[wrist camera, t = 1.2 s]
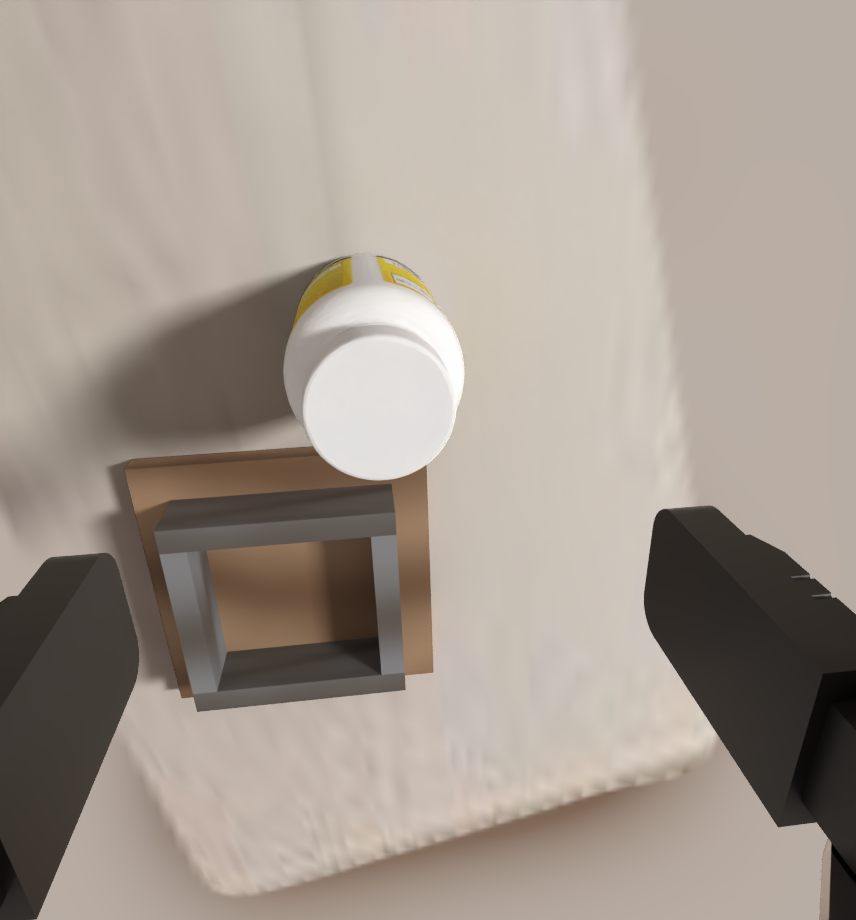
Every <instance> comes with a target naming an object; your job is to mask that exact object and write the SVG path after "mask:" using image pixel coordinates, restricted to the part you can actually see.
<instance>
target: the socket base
mask: <svg viewBox="0 0 856 920" xmlns="http://www.w3.org/2000/svg"><path fill="white" fill-rule="evenodd" d="M124 471H125V475H126V479H127V483H128V487H129V491H130V495H131V499H132V503H133V507H134V511H135V515H136V519H137V523H138V527H139V531H140V535H141V539H142V543H143V547H144V551H145V555H146V559H147V563H148V567H149V571H150V575H151V579H152V582H153V586H154V590H155V594H156V598H157V602H158V606H159V610H160V614H161V618H162V622H163V626H164V630H165V634H166V638H167V642H168V646H169V650H170V654H171V658H172V662H173V666H174V670H175V674H176V678H177V682H178V686H179V690H180V694H181V698H189V697H194V701H195V705H196V709H197V712H200V711H209V710H219V709H228V708H238V707H248V706H257V705H267V704H276V703H286V702H295V701H305V700H314V699H324V698H333V697H343V696H352V695H362V694H371V693H381V692H391V691H400V690H405V675H413V674H422V673H432V672H433V649H432V619H431V589H430V559H429V529H428V499H427V469H426V465H425V466H424V467H422V468H421V469H419V470H417V471H415V472H413V473H411V474H409V475H406V476H404V477H400V478H396V479H390V480H366V479H361V478H357V477H353V476H350V475H348V474H346V473H343V472H341V471H339V470H337V469H336V468H334V467H333V466H331V465H330V464H329V463H327V462H326V461H325V460H324V459H323V458H322V457H321V456H320V455H319V454H318V452H317V451H316V450H315V448H314V447H300V448H286V449H272V450H257V451H243V452H229V453H215V454H201V455H186V456H172V457H158V458H144V459H132V460H131V461H130V462H129V464H128V465H127V467H126V468H125V469H124Z"/></svg>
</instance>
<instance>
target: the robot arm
mask: <svg viewBox="0 0 856 920" xmlns="http://www.w3.org/2000/svg"><path fill="white" fill-rule="evenodd" d="M644 608H645V614H646V619H647V622H648V625H649V628H650V630H651V632H652V634H653V636H654V638H655V639H656V641H657V642H658V644H659V645H660V647H661V648H662V650H663V652H664V653H665V655H666V656H667V658H668V659H669V661H670V662H671V664H672V665H673V667H674V668H675V670H676V671H677V673H678V674H679V676H680V678H681V679H682V681H683V682H684V684H685V685H686V687H687V688H688V690H689V691H690V693H691V694H692V696H693V697H694V699H695V701H696V702H697V704H698V705H699V707H700V708H701V710H702V711H703V713H704V714H705V716H706V717H707V719H708V720H709V722H710V724H711V725H712V727H713V728H714V730H715V731H716V733H717V734H718V736H719V737H720V739H721V740H722V742H723V743H724V745H725V747H726V748H727V750H728V751H729V753H730V754H731V756H732V757H733V759H734V760H735V762H736V763H737V765H738V766H739V768H740V769H741V771H742V773H743V774H744V776H745V777H746V779H747V780H748V782H749V783H750V785H751V786H752V788H753V789H754V791H755V792H756V794H757V795H758V797H759V799H760V800H761V802H762V803H763V804H764V806H765V808H766V809H767V811H768V812H769V814H770V815H771V817H772V818H773V820H774V822H775V823H776V824H777V826H778V827H784V826H791V825H799V824H807V823H815V822H817V823H818V825H819V826H820V827H821V828H822V830H823V831H824V833H825V834H826V835H827V837H828V839H827V842H826V845H825V848H824V851H823V856H822V871H821V894H820V915H819V920H856V614H855V613H853V612H852V611H851V610H850V609H849V608H848V607H847V606H845V605H844V604H843V603H842V602H841V601H840V600H839V599H837V598H832V597H831V592H829V591H828V590H827V589H826V588H825V587H824V586H823V585H821V584H820V583H819V582H818V581H817V580H816V579H810V574H809V573H808V572H807V571H806V570H804V569H803V568H802V567H801V566H800V565H799V564H797V563H796V562H795V561H794V560H793V559H792V558H791V557H789V556H788V555H787V554H786V553H785V552H783V551H781V550H779V549H777V548H776V547H773V546H771V545H770V544H768V543H766V542H764V541H762V540H760V539H758V538H756V537H754V536H752V535H745V534H744V533H743V532H742V531H741V530H740V529H738V528H737V527H736V526H735V525H734V524H733V523H732V522H731V521H730V520H729V519H728V518H726V517H725V516H724V515H723V514H722V513H721V512H720V511H719V510H718V509H716V508H715V507H713V506H699V507H698V506H697V507H685V508H673V509H663V510H661V511H659V512H658V514H657V515H656V517H655V520H654V525H653V531H652V539H651V546H650V554H649V561H648V568H647V576H646V583H645V591H644ZM138 666H139V647H138V641H137V636H136V633H135V629H134V625H133V622H132V618H131V614H130V610H129V607H128V603H127V599H126V596H125V592H124V588H123V585H122V581H121V577H120V573H119V570H118V567H117V564H116V562H115V560H114V558H113V557H112V556H111V555H110V554H108V553H99V554H86V555H74V556H62V557H52V558H49V559H47V560H46V561H45V562H44V563H43V564H42V565H41V567H40V568H39V569H38V571H37V572H36V573H35V574H34V576H33V577H32V578H31V580H30V581H29V582H28V584H27V585H26V586H25V587H24V589H23V590H22V591H21V593H20V594H19V595H18V596H11V597H7V598H6V599H4V600H3V601H1V602H0V920H34V919H37V917H38V915H39V912H40V910H41V908H42V905H43V903H44V900H45V898H46V895H47V893H48V891H49V889H50V886H51V884H52V881H53V879H54V877H55V874H56V872H57V869H58V867H59V865H60V862H61V859H62V857H63V855H64V853H65V850H66V848H67V845H68V843H69V841H70V838H71V836H72V833H73V831H74V829H75V826H76V824H77V822H78V819H79V817H80V814H81V812H82V809H83V807H84V805H85V802H86V800H87V798H88V795H89V793H90V790H91V788H92V785H93V783H94V781H95V778H96V776H97V774H98V771H99V769H100V766H101V764H102V762H103V759H104V757H105V755H106V752H107V750H108V747H109V745H110V742H111V740H112V738H113V735H114V733H115V731H116V728H117V726H118V723H119V721H120V719H121V716H122V714H123V711H124V709H125V707H126V704H127V702H128V700H129V697H130V695H131V692H132V690H133V688H134V685H135V682H136V678H137V673H138Z"/></svg>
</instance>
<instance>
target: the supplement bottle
mask: <svg viewBox="0 0 856 920" xmlns="http://www.w3.org/2000/svg"><path fill="white" fill-rule="evenodd" d="M283 374H284V384H285V390H286V394H287V397H288V401H289V404H290V406H291V409H292V411H293V413H294V415H295V416H296V418H297V420H298V421H299V422H300V424H301V425H302V426H303V428H304V429H305V432H306V434H307V436H308V439H309V440H310V442H311V444H312V446H313V447H314V448H315V450H316V451H317V452H318V454H319V455H320V456H321V457H322V458H323V459H324V460H325V461H326V462H327V463H329V464H330V465H331V466H333V467H334V468H336V469H337V470H339V471H341V472H343V473H346V474H348V475H350V476H353V477H357V478H361V479H366V480H390V479H396V478H400V477H404V476H406V475H409V474H411V473H413V472H415V471H417V470H419V469H421V468H422V467H424V466H425V465H427V464H428V463H429V462H431V461H432V460H433V459H434V458H435V457H436V456H437V455H438V454H439V452H440V451H441V450H442V449H443V447H444V446H445V444H446V442H447V441H448V439H449V437H450V435H451V432H452V429H453V426H454V423H455V417H456V409H457V407H458V405H459V402H460V399H461V396H462V392H463V386H464V361H463V354H462V350H461V346H460V344H459V341H458V338H457V336H456V333H455V331H454V329H453V327H452V326H451V324H450V322H449V320H448V319H447V317H446V316H445V314H444V313H443V311H442V310H441V308H440V307H439V305H438V304H437V302H436V301H435V299H434V297H433V296H432V294H431V293H430V291H429V290H428V288H427V287H426V285H425V284H424V282H423V281H422V280H421V279H420V278H419V277H418V276H417V275H416V274H415V273H414V272H413V271H412V270H410V269H409V268H408V267H407V266H405V265H403V264H402V263H400V262H398V261H396V260H394V259H391V258H389V257H386V256H382V255H377V254H355V255H350V256H346V257H343V258H340V259H338V260H336V261H334V262H332V263H330V264H329V265H327V266H326V267H325V268H323V269H322V270H321V271H320V272H318V273H317V274H316V275H315V277H314V278H313V279H312V280H311V282H310V283H309V284H308V286H307V288H306V289H305V291H304V293H303V295H302V298H301V300H300V303H299V306H298V309H297V313H296V317H295V320H294V324H293V327H292V330H291V333H290V336H289V339H288V343H287V346H286V350H285V357H284V368H283Z"/></svg>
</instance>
